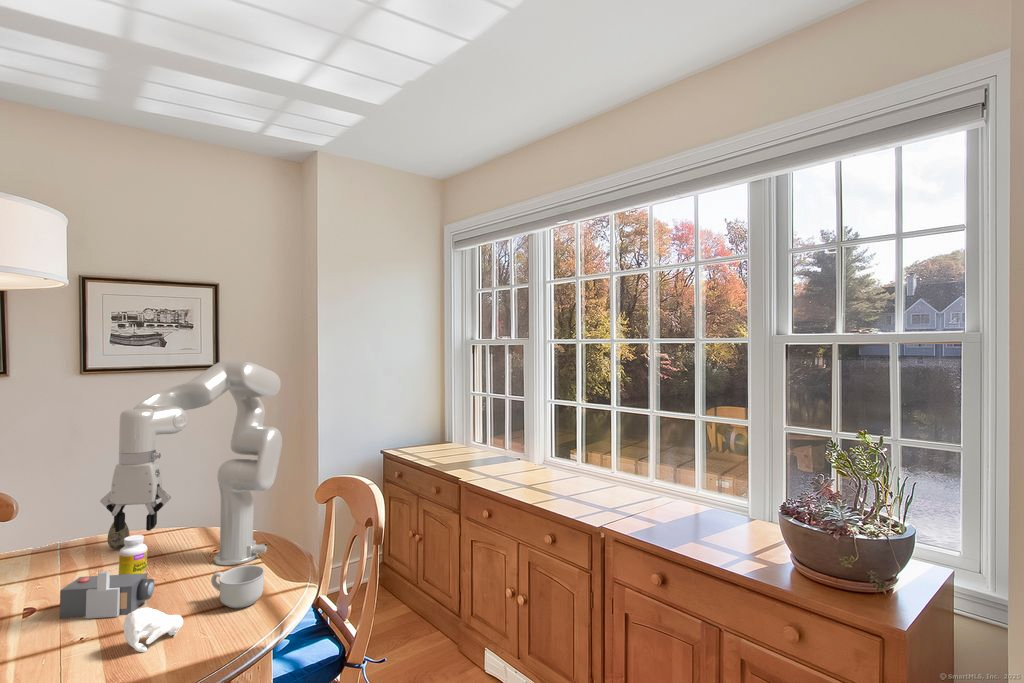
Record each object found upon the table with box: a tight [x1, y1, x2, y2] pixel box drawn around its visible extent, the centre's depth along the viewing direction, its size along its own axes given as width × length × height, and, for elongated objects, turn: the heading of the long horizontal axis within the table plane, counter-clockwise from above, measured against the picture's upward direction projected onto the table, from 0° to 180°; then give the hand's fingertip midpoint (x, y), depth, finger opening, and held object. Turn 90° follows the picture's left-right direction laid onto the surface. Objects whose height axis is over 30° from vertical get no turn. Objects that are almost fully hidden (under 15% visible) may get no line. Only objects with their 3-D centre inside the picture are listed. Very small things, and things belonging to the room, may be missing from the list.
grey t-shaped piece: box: [85, 570, 120, 619], centre depth 135 cm, size 7×1×11 cm, turn 100°
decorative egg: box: [106, 521, 131, 550], centre depth 180 cm, size 6×6×10 cm
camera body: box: [59, 573, 155, 620], centre depth 139 cm, size 18×8×8 cm, turn 100°
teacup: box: [210, 564, 265, 609], centre depth 144 cm, size 14×11×8 cm
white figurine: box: [122, 607, 184, 653], centre depth 124 cm, size 6×8×12 cm
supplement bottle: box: [118, 534, 149, 575], centre depth 155 cm, size 7×7×13 cm
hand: (135, 529), depth 136 cm, fingers open, 6 cm apart
